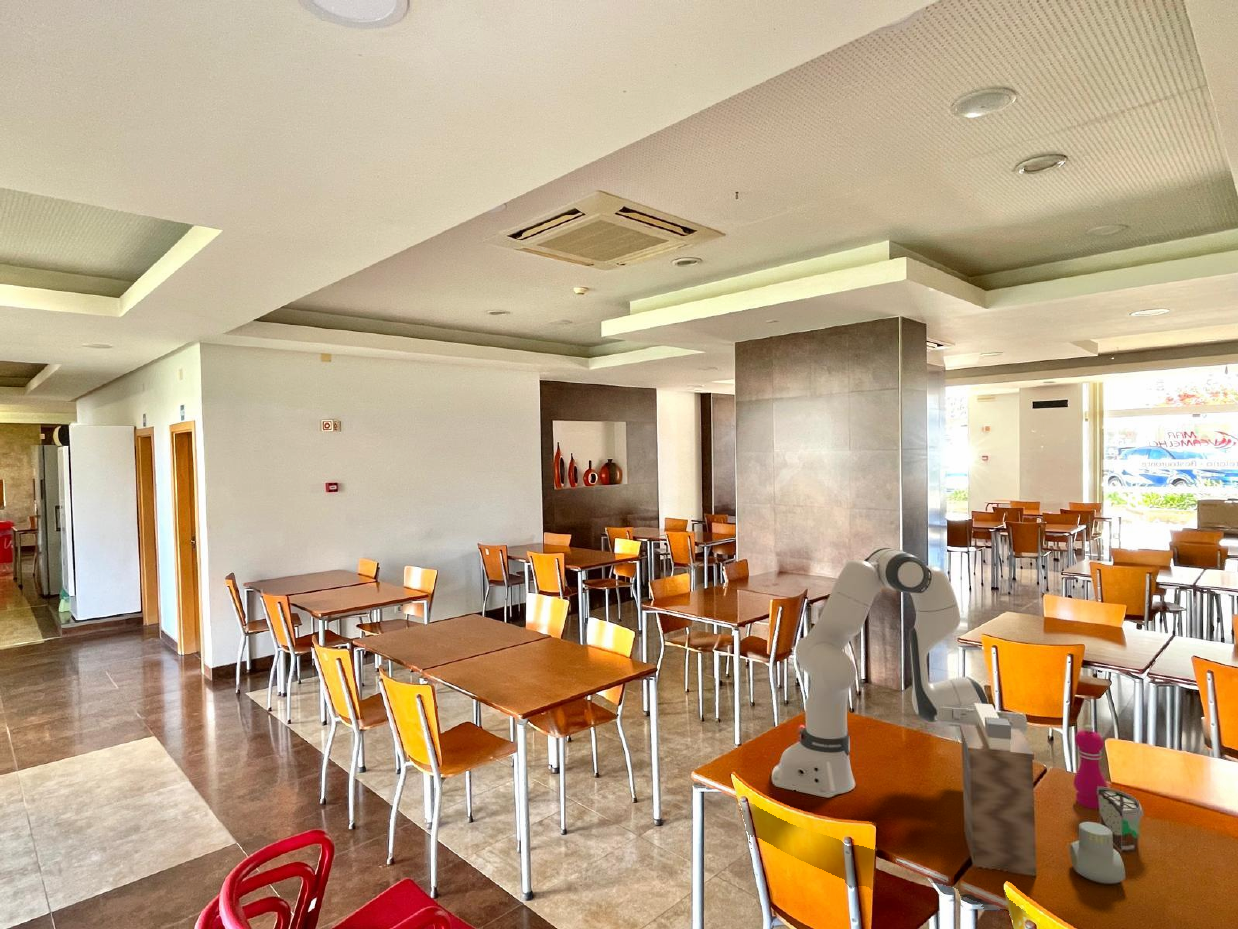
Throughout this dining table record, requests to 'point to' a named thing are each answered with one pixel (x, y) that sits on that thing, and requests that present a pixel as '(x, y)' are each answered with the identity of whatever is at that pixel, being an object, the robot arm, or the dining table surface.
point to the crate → (999, 802)
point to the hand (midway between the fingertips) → (984, 713)
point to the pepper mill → (1089, 768)
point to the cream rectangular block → (993, 727)
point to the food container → (1120, 817)
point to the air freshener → (1096, 854)
